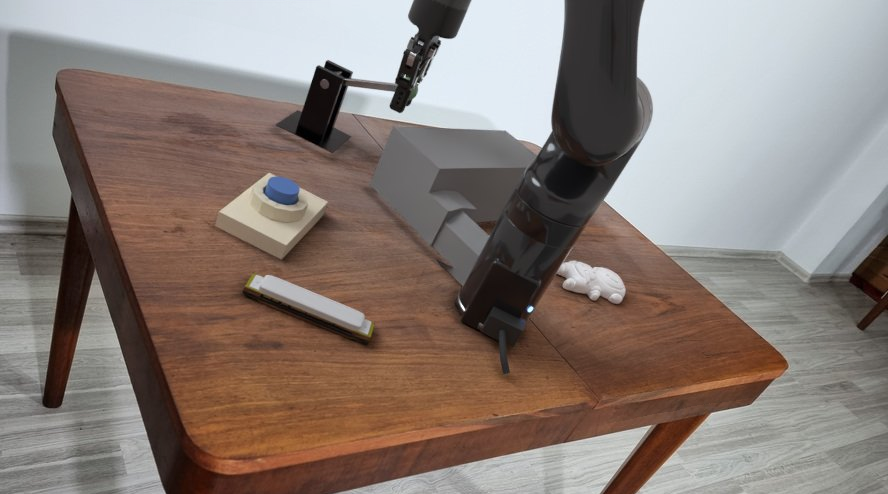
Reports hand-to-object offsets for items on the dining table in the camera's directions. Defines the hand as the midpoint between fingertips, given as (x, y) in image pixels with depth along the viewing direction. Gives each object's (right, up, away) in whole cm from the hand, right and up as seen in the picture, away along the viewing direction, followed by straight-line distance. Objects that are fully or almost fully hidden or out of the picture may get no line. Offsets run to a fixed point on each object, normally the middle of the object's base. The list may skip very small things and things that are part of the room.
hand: (399, 106), depth 108 cm
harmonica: (-11, -30, -30) cm, 44 cm away
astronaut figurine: (+29, -27, 0) cm, 39 cm away
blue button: (-15, -16, -19) cm, 29 cm away
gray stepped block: (+11, -19, +1) cm, 22 cm away
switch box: (-16, -19, -18) cm, 31 cm away
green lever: (-5, +2, +1) cm, 5 cm away
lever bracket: (-14, -3, +6) cm, 16 cm away
